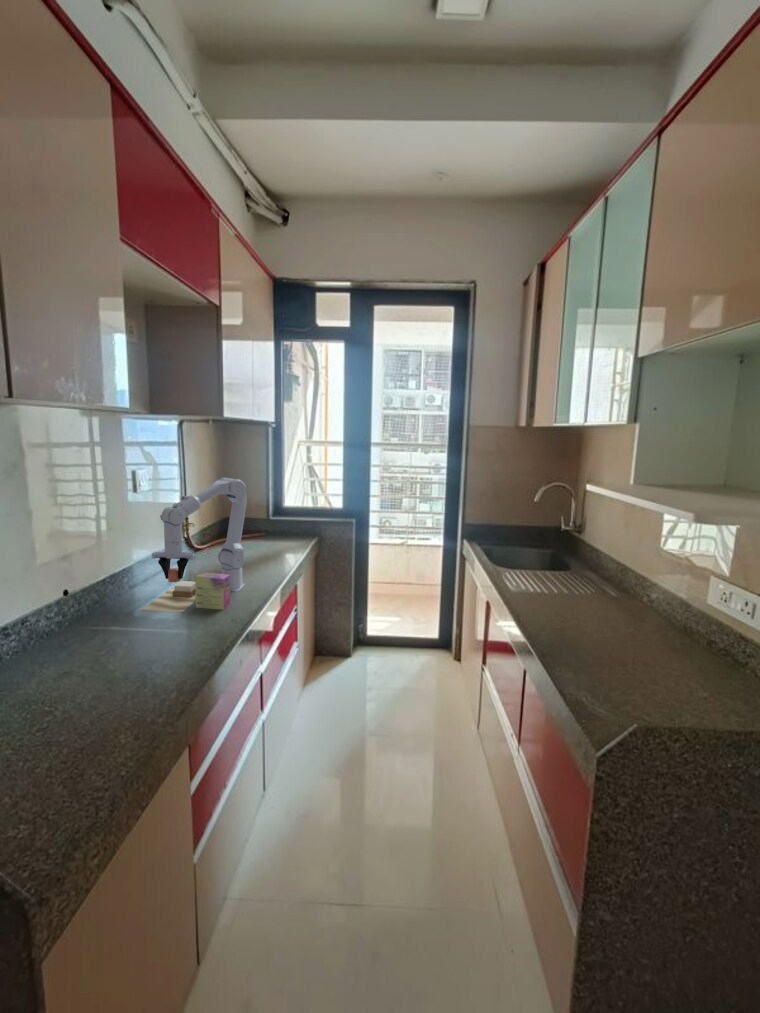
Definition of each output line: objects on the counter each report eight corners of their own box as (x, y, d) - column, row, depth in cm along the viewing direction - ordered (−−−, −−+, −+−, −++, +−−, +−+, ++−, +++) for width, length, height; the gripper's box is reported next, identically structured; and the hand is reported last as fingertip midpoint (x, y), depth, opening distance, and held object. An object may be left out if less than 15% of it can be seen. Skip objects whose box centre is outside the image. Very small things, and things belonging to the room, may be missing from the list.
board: (171, 589, 184) (171, 588, 183) (207, 591, 184) (207, 589, 184) (140, 612, 160) (140, 610, 160) (182, 613, 160) (182, 612, 160)
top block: (181, 586, 180) (181, 580, 180) (196, 586, 180) (196, 581, 180) (174, 591, 174) (174, 585, 174) (190, 591, 174) (190, 586, 174)
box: (230, 605, 170) (230, 574, 168) (223, 611, 164) (223, 578, 162) (203, 603, 170) (202, 571, 169) (195, 609, 165) (194, 576, 163)
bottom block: (180, 590, 181) (180, 585, 181) (198, 591, 181) (198, 586, 181) (172, 596, 174) (172, 591, 174) (191, 597, 174) (191, 592, 174)
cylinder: (171, 578, 170) (170, 567, 169) (182, 579, 170) (181, 568, 169) (166, 582, 166) (165, 571, 165) (177, 582, 166) (177, 571, 166)
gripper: (147, 542, 162) (148, 581, 164) (189, 544, 162) (190, 582, 164) (156, 538, 169) (157, 575, 171) (197, 540, 169) (197, 576, 171)
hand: (174, 578), depth 168 cm, fingers closed on cylinder, 4 cm apart
